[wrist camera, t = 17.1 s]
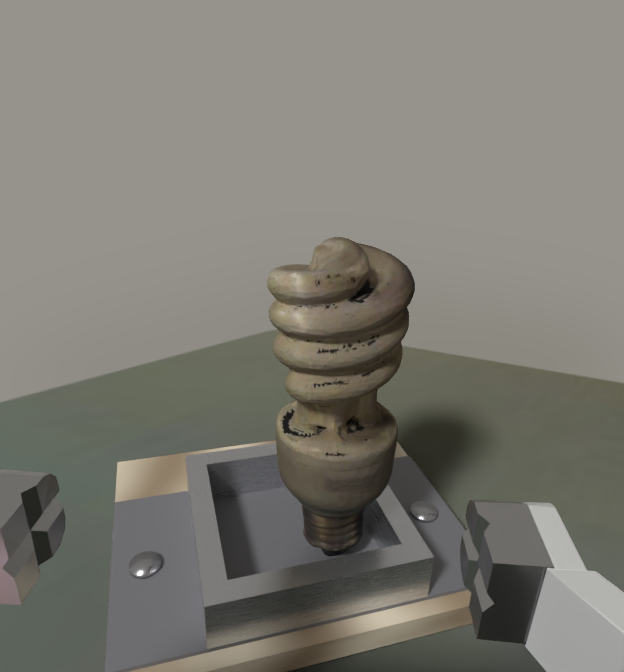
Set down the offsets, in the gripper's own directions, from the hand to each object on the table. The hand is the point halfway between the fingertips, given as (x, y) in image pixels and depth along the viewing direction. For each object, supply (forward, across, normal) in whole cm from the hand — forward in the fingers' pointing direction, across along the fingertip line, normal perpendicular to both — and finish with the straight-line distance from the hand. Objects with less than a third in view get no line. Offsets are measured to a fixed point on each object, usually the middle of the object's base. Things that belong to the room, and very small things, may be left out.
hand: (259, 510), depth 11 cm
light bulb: (+11, -1, +12) cm, 17 cm away
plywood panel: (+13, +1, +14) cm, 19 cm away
